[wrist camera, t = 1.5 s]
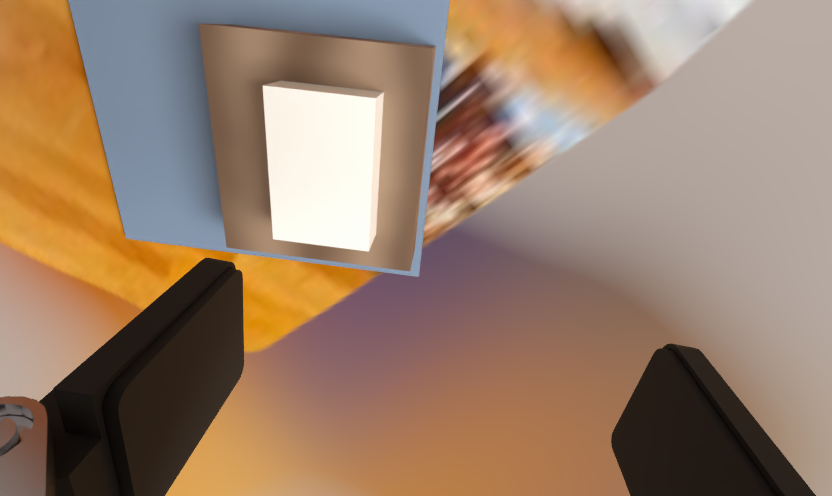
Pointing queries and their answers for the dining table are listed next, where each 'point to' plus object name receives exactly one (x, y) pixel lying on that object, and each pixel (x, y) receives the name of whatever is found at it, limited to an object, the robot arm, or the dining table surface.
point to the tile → (323, 163)
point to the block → (322, 65)
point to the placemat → (188, 101)
